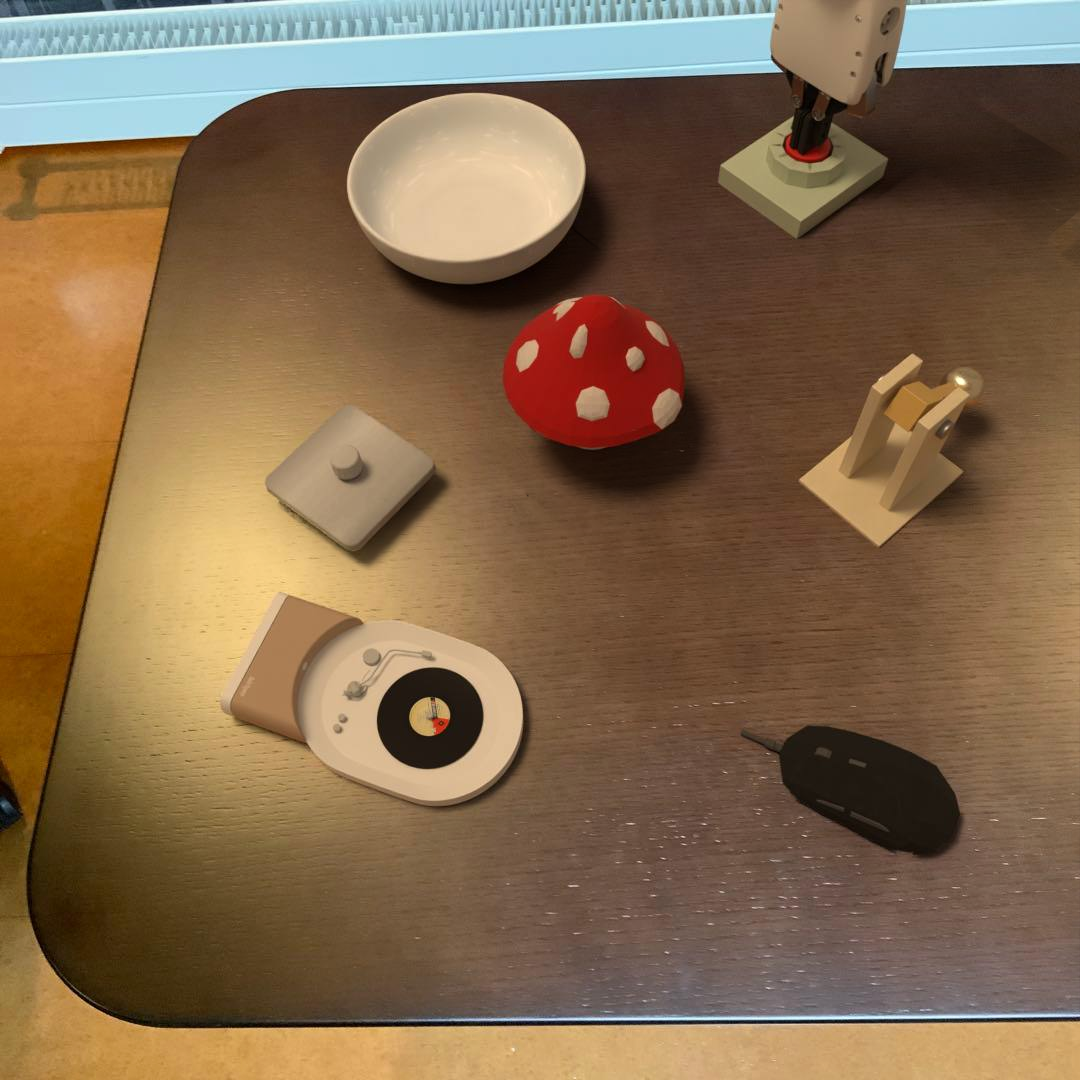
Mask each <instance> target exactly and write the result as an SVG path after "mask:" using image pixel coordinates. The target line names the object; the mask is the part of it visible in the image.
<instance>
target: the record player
mask: <svg viewBox="0 0 1080 1080" xmlns="http://www.w3.org/2000/svg"><path fill="white" fill-rule="evenodd" d="M521 696H522V695H521V693H520V690H519V687H518V685H517V681H515V678H514V677H513V675H512V673H511V672H510V670H509V669H508V668H507V666H505V664H504V663H503V662H502V661H501V660H500V659H499V658H497V656H495V655H494V654H493V653H492V652H490V651H488V650H487V649H485V648H483V647H480V646H478V645H475V644H473V643H470V642H468V641H465V640H462V639H459V638H456V637H453V636H451V635H448V634H445V633H442V632H439V631H435V630H433V629H429V628H427V627H423V626H420V625H417V624H413V623H410V622H406V621H402V620H397V619H382V620H381V619H380V620H372V621H368V622H363V621H362V620H361V619H360V618H358V617H356V616H353V615H350V614H348V613H345V612H341V611H338V610H336V609H332V608H330V607H327V606H324V605H320V604H317V603H315V602H311V601H309V600H306V599H303V598H300V597H297V596H294V595H291V594H289V593H285V592H282V591H278V592H277V593H276V594H275V595H274V597H273V599H272V600H271V602H270V605H269V606H268V608H267V610H266V612H265V613H264V615H263V618H262V619H261V621H260V622H259V624H258V626H257V628H256V629H255V632H254V634H253V636H252V637H251V640H250V641H249V643H248V645H247V647H246V649H245V650H244V652H243V654H242V656H241V658H240V659H239V661H238V664H237V665H236V667H235V669H234V670H233V672H232V674H231V676H230V678H229V680H228V682H227V684H226V686H225V687H224V689H223V691H222V693H221V694H220V698H219V706H220V709H221V711H222V712H223V714H225V715H228V716H230V717H233V718H236V719H238V720H241V721H244V722H247V723H249V724H251V725H255V726H258V727H260V728H263V729H266V730H268V731H271V732H274V733H277V734H280V735H283V736H285V737H288V738H290V739H293V740H296V741H299V742H301V743H304V744H307V745H308V747H309V748H310V750H311V751H312V753H313V754H314V756H315V757H316V758H317V760H318V761H319V762H320V763H321V764H322V765H324V767H326V768H327V769H328V770H329V771H331V772H333V773H335V774H336V775H338V776H341V777H343V778H344V779H347V780H350V781H352V782H355V783H357V784H359V785H362V786H365V787H368V788H370V789H373V790H376V791H379V792H381V793H383V794H388V795H390V796H392V797H395V798H398V799H401V800H403V801H407V802H410V803H414V804H417V805H421V806H426V807H444V806H445V807H446V806H452V805H457V804H460V803H463V802H466V801H469V800H472V799H474V798H475V797H477V796H479V795H480V794H482V793H484V792H486V791H487V790H489V788H491V787H492V786H493V785H495V784H497V782H498V781H499V780H500V779H501V778H502V777H503V775H504V774H505V773H506V772H507V770H508V769H509V768H510V766H511V765H512V763H513V761H514V760H515V758H516V756H517V753H518V751H519V748H520V745H521V741H522V737H523V730H524V711H523V702H522V701H523V700H522V697H521Z"/></svg>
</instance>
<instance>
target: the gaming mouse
mask: <svg viewBox="0 0 1080 1080" xmlns="http://www.w3.org/2000/svg"><path fill="white" fill-rule="evenodd" d="M740 735H741V736H743V737H746V738H748V739H751V740H753V741H755V742H758V743H759V744H762V745H763V746H764V747H765V748H768V749H770V750H772V751H774V750H775V751H776V752H778V753H779V754H778V759H779V765H780V773H781V781H782V783H783V785H784V786H785V787H786V788H787V789H788V790H789V792H790V793H791V794H792V795H793V796H794V797H795V798H796V799H797V801H798V802H800V803H801V804H803V805H806V806H807V807H809V808H811V809H813V810H814V811H816V812H818V813H819V814H820V815H823V816H825V817H827V818H828V819H831V820H833V821H834V822H836V821H837V823H839V824H840V825H842V826H844V827H846V828H848V829H849V830H852V831H853V832H854V833H857V834H859V835H860V836H863V838H866V839H867V840H869V841H871V842H874V843H875V844H877V845H879V846H882V847H884V848H886V849H888V850H890V851H895V852H898V851H902V852H906V853H912V854H911V855H914V856H920V855H921V856H922V855H929V854H931V853H935V852H936V851H938V850H939V849H941V848H942V847H943V846H945V845H946V844H948V843H949V842H951V841H952V840H953V839H954V836H955V833H956V831H957V827H958V825H959V820H960V818H961V811H960V810H961V809H960V806H959V803H958V800H957V796H956V793H955V791H954V790H953V788H952V787H951V785H950V783H949V782H948V780H947V779H946V778H945V776H944V774H943V773H942V772H941V770H940V768H939V767H938V766H937V765H936V764H934V763H932V762H931V761H928V760H927V759H925V758H923V757H921V756H920V755H917V754H916V753H914V752H912V751H910V750H908V749H906V748H902V747H900V746H897V745H895V744H892V743H890V742H887V741H885V740H881V739H878V738H875V737H872V736H868V735H865V734H862V733H858V732H855V731H851V730H847V729H842V728H837V727H833V726H828V725H811V724H809V725H806V726H804V727H802V728H801V729H799V730H798V731H796V732H795V733H793V734H791V735H790V736H788V737H787V738H786V739H785V741H784V742H783V744H782V743H780V742H777V741H776V740H773V739H771V738H769V737H767V738H764V737H762V736H759V735H757V734H755V733H752V732H750V731H747V730H745V729H741V731H740Z"/></svg>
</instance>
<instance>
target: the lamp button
mask: <svg viewBox="0 0 1080 1080" xmlns="http://www.w3.org/2000/svg"><path fill="white" fill-rule="evenodd" d="M790 138H791V135H790V136H789V137H788V139H787V141H786V146H785V153H786V154H787V155H788V156H790V157H791V158H793V159H794V160H796V161H799V162H804V163H809V164H811V163H817V162H823V161H824V160H826V159H827V158H828V156H829V152H830V148H831V145H830V141H829V139H828V138H827V139H826V141H825V142H824V143H823V144H822V145H820V146H819V147H814V148H813V149H811V150H810V151H808V152H807V153H805V154H804V155H802V154H800V153H799V152H798V150H797V149H796V148H795V149H793V148H791V147H790V146H789V143H790Z"/></svg>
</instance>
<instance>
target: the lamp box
mask: <svg viewBox="0 0 1080 1080" xmlns="http://www.w3.org/2000/svg"><path fill="white" fill-rule="evenodd" d="M793 118H794V115H793V116H792V117H790V118H788V119H787V120H785V121H784V122H783V123H781V124H780V125H778V126H777V127H775V128H774V129H772V130H771V131H769V132H768V133H766V134H764V135H763V136H762V137H760V138H758V139H757V140H755V141H754V142H752V144H749V145H748V146H746V147H745V148H744V149H742V150H741V151H739V152H738V153H736V154H735V155H733V156H732V157H730V158H729V159H727V160H726V161H724V162H723V163H721V164H720V165H719V173H718V179H717V184H719V185H720V186H721V187H723V188H724V189H725V190H727V191H728V192H730V193H731V194H732V195H734V196H736V197H737V198H738V199H740V200H741V201H742V202H744V203H745V204H747V205H748V206H749V207H751V208H752V209H754V210H755V211H756V212H758V213H759V214H760V215H762V216H763V217H765V218H766V219H768V220H769V221H770V222H772V223H774V224H775V225H776V226H778V227H779V228H780V229H782V230H783V231H785V232H786V233H787V234H789V235H790V236H792V237H793V238H795V239H796V240H797V239H799V238H801V236H804V235H805V234H806V233H807V232H809V231H811V230H812V229H813V228H814V227H816V226H818V224H820V223H821V222H822V221H824V220H826V218H828V217H830V216H831V215H832V214H833V213H835V212H836V211H838V210H839V209H841V208H842V207H843V206H845V205H846V204H848V203H849V202H850V201H852V200H853V199H855V198H856V197H857V196H859V195H860V194H861V193H862V192H864V191H865V190H867V189H868V188H870V187H871V186H873V185H874V184H875V183H876V182H878V181H879V180H880V179H882V178H883V177H884V174H885V170H886V168H887V164H888V161H889V158H888V157H887V156H885V155H883V154H882V153H880V152H878V151H877V150H875V149H874V148H872V147H871V146H869V145H867V144H866V143H864V142H863V141H861V140H860V139H858V137H855V136H853V134H850V132H847V131H845V130H844V129H843V128H841V127H840V126H838V125H837V124H835V123H833V122H832V123H831V127H830V131H829V134H828V137H827V138H828V139H829V141H830V145H831V148H830V152H829V156H828V158H827V159H826V160H824V161H823V162H817V163H811V164H809V163H804V162H799V161H796V160H794V159H793V158H791V157H790V156H788V155H787V154H786V153H785V146H786V141H787V139H788V137H789V136H790V135H791V134H792V130H791V127H792V122H793Z"/></svg>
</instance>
